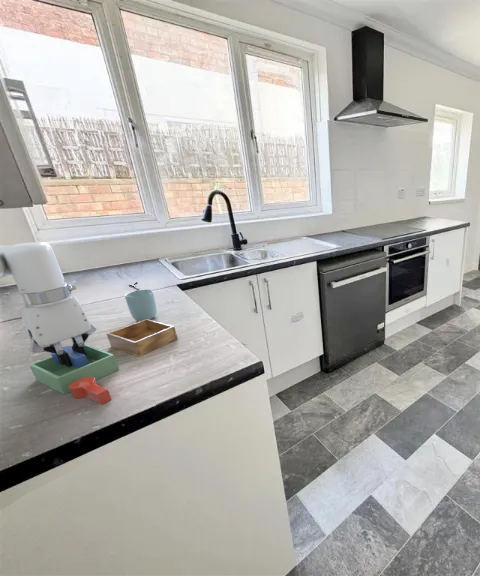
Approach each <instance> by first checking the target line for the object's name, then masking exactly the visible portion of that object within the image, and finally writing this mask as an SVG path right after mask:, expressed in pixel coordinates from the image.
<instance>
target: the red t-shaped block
mask: <svg viewBox="0 0 480 576" xmlns="http://www.w3.org/2000/svg"><path fill="white" fill-rule="evenodd" d="M69 388H70V390H71V392H70V393H71V395H72V398H74V399H83V398H86V399H89V400H90V401H93V402H94V403H96V404H98V405H101V406H102V405H105V404H106V403H108V402H109V401H112V397H111V394H110V391H109V389H108V388H105V387H104V386H102V385H99V384H98V383H97V380H95V378H94V377H85V378H82V379H79V380H76V381H75V382H73V383H71V384H70V386H69Z"/></svg>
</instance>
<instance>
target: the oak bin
mask: <svg viewBox="0 0 480 576" xmlns="http://www.w3.org/2000/svg"><path fill="white" fill-rule="evenodd" d="M106 336H107V339H108V342H109V345H110V347H111V348H112V349H113V348H114V349H116V350H119V351H121V352H124V353H127V354H130V355H133V356H136V357H138V358H140V357H142V356H144V355H146V354H148V353H150V352H153V351H154V350H155V351H156V350H157V349H159V348H161V347H163V346H166V345H169V344H171V343H173V342H174V341H177V340H178V339H179V338H178V335H177V331H176V328H175V326H174V325H171V324H168V323H163V322H160V321H157V320H153V319H150V320H149V319H145V320H142V321H136V322H134V323H131V324H128V325H126V326H123V327H121V328H118V329H115V330H113V331H110V332H107V333H106Z"/></svg>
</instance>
